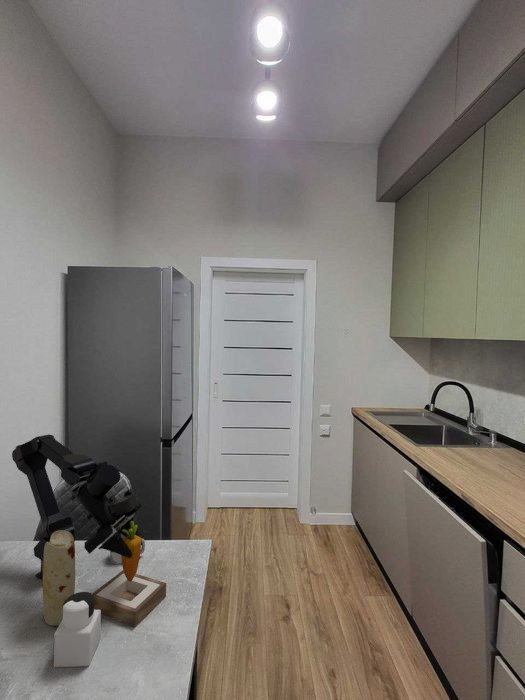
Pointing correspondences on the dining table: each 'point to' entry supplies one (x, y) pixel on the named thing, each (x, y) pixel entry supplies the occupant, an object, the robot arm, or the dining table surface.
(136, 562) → the carrot
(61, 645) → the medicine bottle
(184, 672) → the dining table surface
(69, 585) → the food model
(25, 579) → the dining table surface
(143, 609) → the walnut box
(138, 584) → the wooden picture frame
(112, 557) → the mug
